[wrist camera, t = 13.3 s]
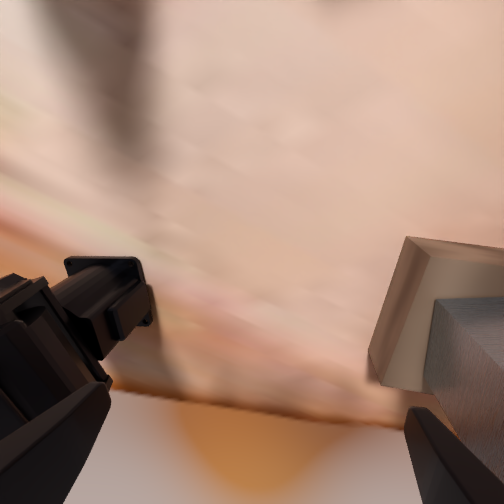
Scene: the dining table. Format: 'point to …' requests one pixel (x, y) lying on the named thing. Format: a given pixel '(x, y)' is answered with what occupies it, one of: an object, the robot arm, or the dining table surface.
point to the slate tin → (470, 373)
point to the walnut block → (427, 303)
